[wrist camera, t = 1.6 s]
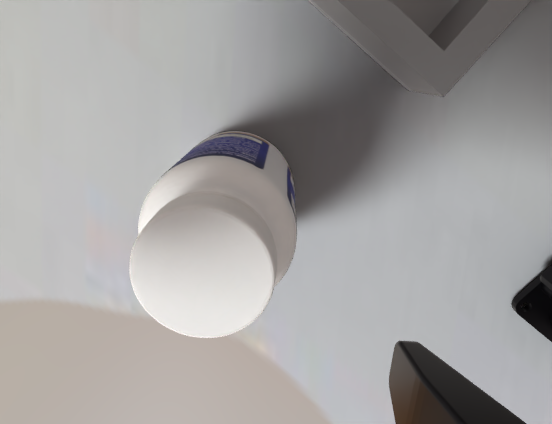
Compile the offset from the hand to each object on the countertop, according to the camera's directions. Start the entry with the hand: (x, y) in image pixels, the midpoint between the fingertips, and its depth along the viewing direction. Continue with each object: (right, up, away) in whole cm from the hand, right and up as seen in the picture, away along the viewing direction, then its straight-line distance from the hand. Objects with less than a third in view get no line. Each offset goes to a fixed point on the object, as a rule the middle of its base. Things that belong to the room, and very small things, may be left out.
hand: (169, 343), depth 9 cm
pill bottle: (0, +4, +12) cm, 12 cm away
